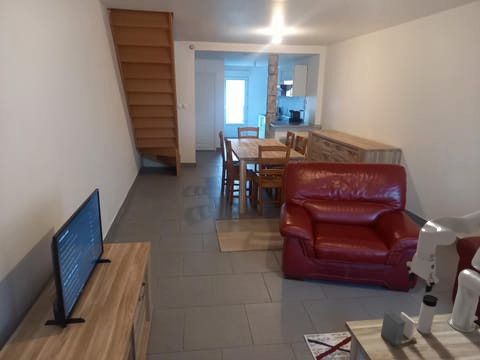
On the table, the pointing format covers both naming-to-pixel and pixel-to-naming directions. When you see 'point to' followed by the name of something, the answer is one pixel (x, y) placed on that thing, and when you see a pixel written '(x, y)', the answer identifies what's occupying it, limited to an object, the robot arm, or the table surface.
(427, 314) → the travel mug
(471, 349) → the table surface
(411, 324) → the white flat slab
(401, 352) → the table surface
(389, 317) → the grey bracket
